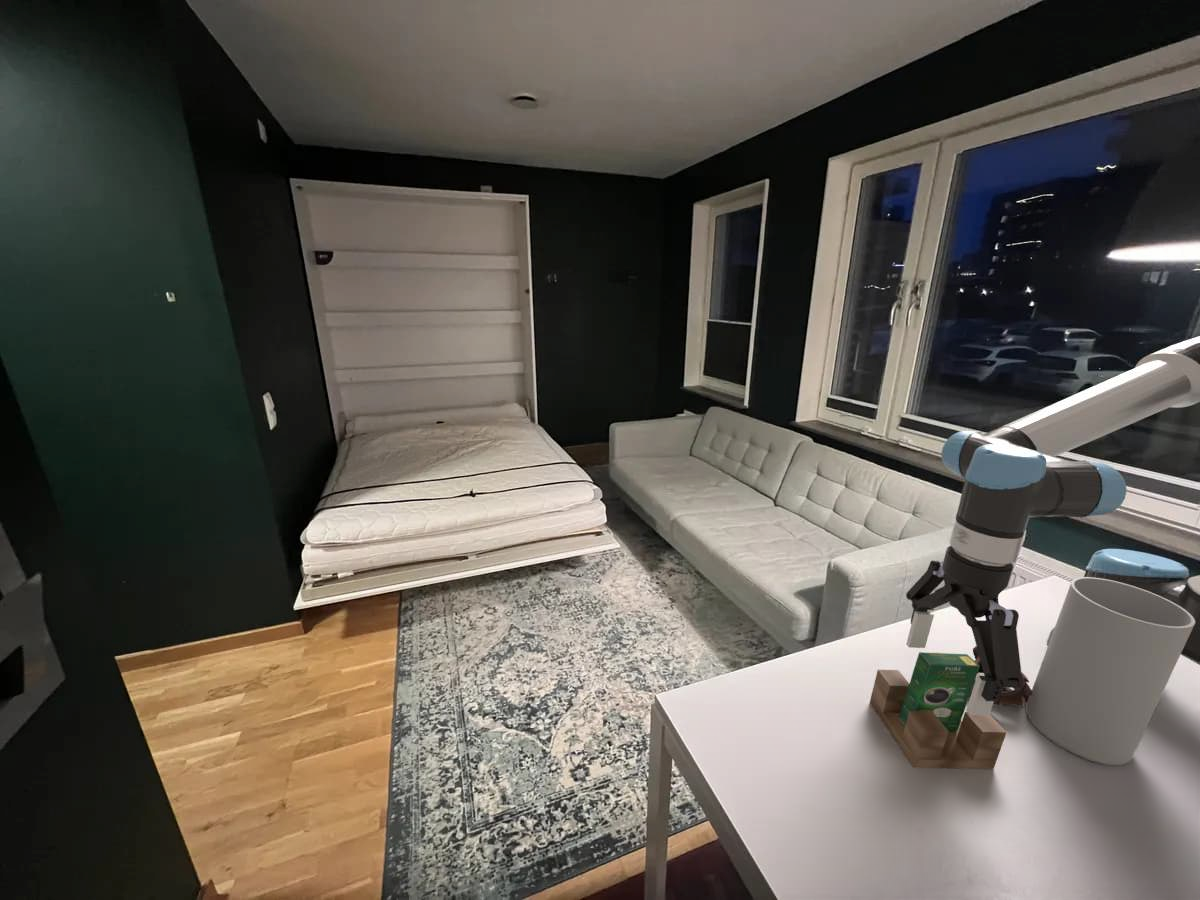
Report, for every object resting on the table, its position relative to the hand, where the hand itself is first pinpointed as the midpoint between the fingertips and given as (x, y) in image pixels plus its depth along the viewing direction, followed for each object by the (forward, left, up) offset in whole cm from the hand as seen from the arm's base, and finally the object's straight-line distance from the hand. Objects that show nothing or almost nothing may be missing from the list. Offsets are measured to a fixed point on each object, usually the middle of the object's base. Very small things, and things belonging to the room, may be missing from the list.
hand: (943, 676), depth 73 cm
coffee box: (0, 0, -10) cm, 10 cm away
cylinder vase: (-17, -18, -11) cm, 27 cm away
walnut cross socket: (0, 0, -11) cm, 11 cm away
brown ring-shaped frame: (-6, -19, -12) cm, 23 cm away
